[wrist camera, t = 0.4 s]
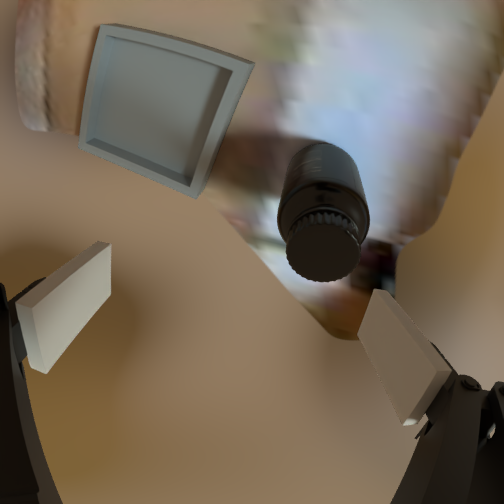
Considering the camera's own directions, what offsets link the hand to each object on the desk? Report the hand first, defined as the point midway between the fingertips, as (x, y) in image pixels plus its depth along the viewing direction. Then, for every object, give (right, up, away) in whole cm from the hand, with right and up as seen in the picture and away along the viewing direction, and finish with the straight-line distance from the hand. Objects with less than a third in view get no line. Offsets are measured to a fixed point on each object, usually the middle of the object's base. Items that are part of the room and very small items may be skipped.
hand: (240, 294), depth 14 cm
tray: (-9, +16, +12) cm, 22 cm away
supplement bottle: (+7, +9, +14) cm, 18 cm away
